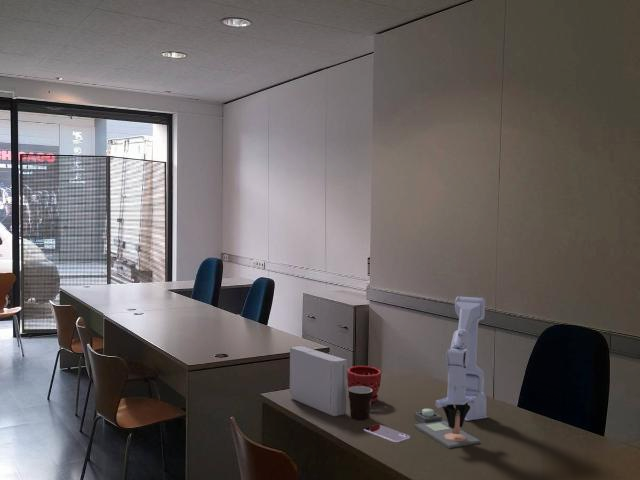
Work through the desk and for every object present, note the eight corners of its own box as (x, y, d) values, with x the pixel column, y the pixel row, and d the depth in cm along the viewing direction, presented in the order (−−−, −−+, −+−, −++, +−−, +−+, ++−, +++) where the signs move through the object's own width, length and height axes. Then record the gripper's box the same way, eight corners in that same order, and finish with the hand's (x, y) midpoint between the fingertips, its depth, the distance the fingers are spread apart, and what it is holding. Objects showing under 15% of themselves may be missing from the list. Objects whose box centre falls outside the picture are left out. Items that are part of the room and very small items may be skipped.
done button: (429, 414, 220) (429, 408, 220) (435, 418, 216) (436, 411, 216) (419, 416, 218) (420, 409, 218) (426, 419, 215) (426, 412, 215)
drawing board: (443, 422, 215) (443, 419, 215) (480, 442, 197) (480, 440, 197) (414, 426, 211) (414, 424, 211) (448, 448, 192) (448, 445, 192)
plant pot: (341, 402, 235) (342, 372, 235) (353, 393, 247) (353, 364, 247) (374, 407, 230) (375, 376, 230) (384, 397, 242) (385, 367, 242)
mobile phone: (377, 422, 212) (411, 435, 201) (377, 425, 212) (411, 438, 201) (362, 427, 207) (396, 441, 196) (362, 430, 207) (396, 444, 196)
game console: (333, 417, 219) (334, 362, 218) (289, 398, 240) (289, 347, 239) (346, 414, 223) (347, 359, 222) (300, 395, 244) (301, 345, 243)
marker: (456, 430, 201) (457, 409, 200) (461, 433, 198) (462, 412, 198) (449, 431, 200) (450, 410, 199) (454, 434, 197) (455, 413, 197)
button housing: (430, 415, 222) (430, 410, 222) (441, 422, 216) (441, 416, 215) (413, 418, 219) (414, 412, 219) (424, 424, 213) (424, 418, 213)
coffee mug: (364, 423, 213) (365, 394, 213) (343, 418, 218) (343, 390, 217) (379, 414, 223) (380, 386, 223) (358, 409, 228) (359, 382, 227)
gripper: (445, 391, 192) (443, 434, 192) (482, 386, 197) (481, 428, 198) (432, 385, 198) (431, 426, 199) (469, 380, 204) (468, 421, 205)
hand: (455, 426), depth 199 cm, fingers closed on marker, 3 cm apart
